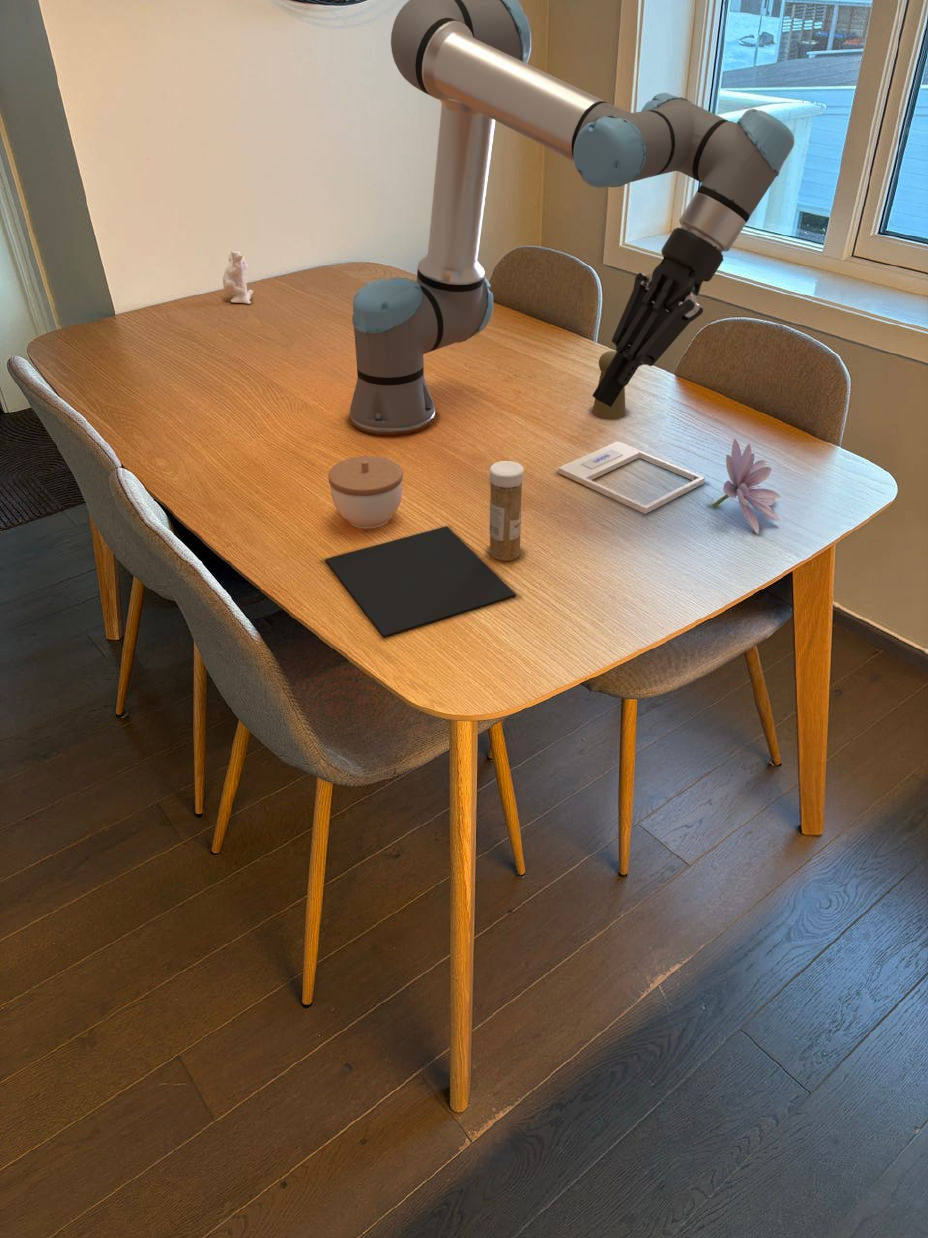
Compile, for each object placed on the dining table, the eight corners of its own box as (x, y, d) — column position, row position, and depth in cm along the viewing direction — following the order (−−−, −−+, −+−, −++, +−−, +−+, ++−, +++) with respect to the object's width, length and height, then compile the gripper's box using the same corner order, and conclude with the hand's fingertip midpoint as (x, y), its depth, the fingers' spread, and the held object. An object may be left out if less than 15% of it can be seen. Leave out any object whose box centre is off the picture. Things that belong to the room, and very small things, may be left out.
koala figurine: (259, 304, 221) (252, 251, 214) (231, 308, 219) (223, 254, 212) (250, 294, 227) (243, 242, 220) (223, 297, 225) (215, 245, 218)
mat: (325, 561, 130) (325, 558, 130) (446, 528, 137) (446, 526, 137) (383, 638, 116) (383, 635, 115) (516, 596, 123) (516, 594, 122)
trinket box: (333, 502, 143) (328, 446, 138) (403, 499, 144) (400, 443, 138) (331, 539, 135) (325, 480, 129) (406, 535, 135) (403, 477, 130)
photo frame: (617, 439, 158) (705, 476, 147) (617, 445, 159) (704, 482, 148) (558, 466, 150) (646, 507, 139) (557, 472, 151) (645, 513, 140)
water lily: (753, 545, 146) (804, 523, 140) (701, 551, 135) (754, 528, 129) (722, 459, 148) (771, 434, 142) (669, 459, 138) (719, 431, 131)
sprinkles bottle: (524, 560, 130) (528, 473, 122) (492, 564, 129) (494, 476, 121) (515, 543, 134) (518, 457, 126) (484, 547, 133) (485, 461, 125)
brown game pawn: (624, 420, 167) (630, 360, 161) (590, 417, 168) (595, 358, 162) (626, 406, 172) (632, 348, 166) (593, 404, 173) (598, 346, 167)
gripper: (750, 267, 117) (645, 430, 125) (690, 240, 127) (596, 393, 135) (713, 239, 113) (607, 410, 121) (654, 213, 122) (559, 373, 130)
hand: (601, 401), depth 128 cm, fingers closed
